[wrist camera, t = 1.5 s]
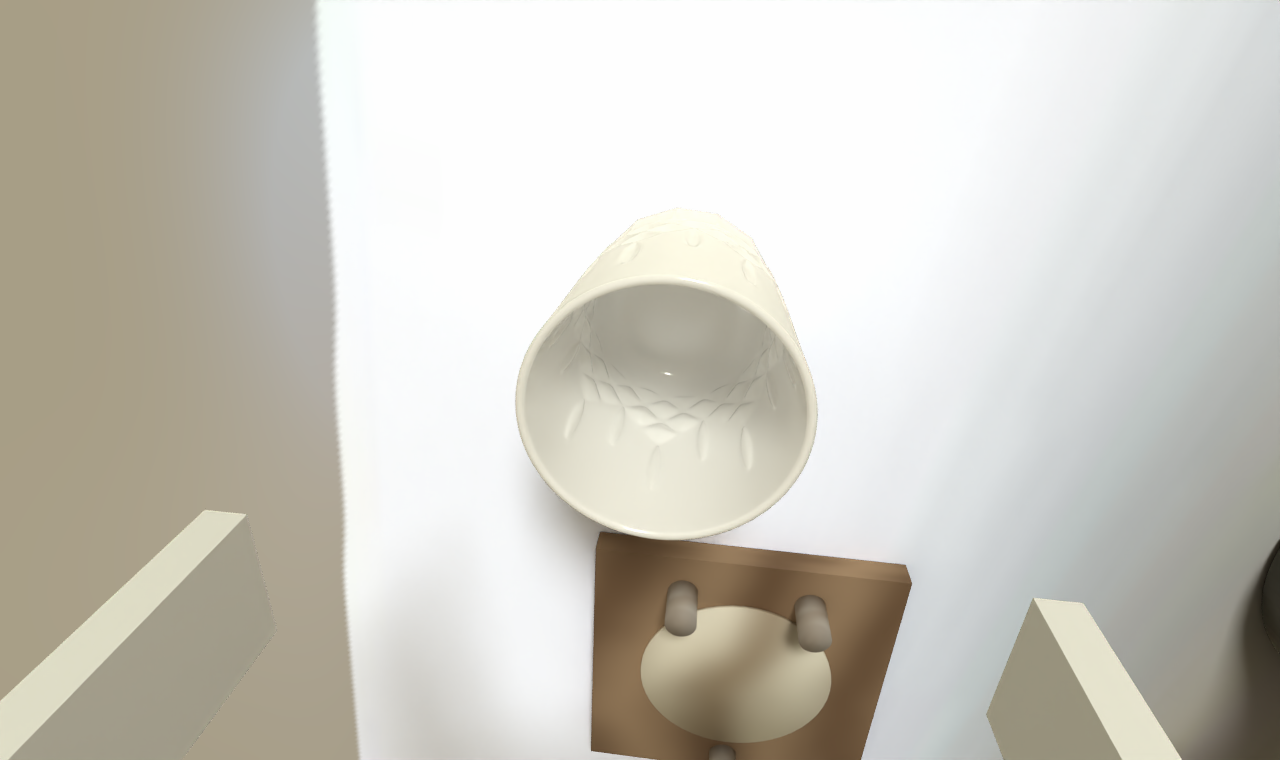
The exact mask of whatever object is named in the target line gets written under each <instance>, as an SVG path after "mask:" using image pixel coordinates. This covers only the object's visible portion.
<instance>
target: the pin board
mask: <svg viewBox="0 0 1280 760" xmlns="http://www.w3.org/2000/svg"><path fill="white" fill-rule="evenodd" d="M911 586H912V582H911V579H910V576H909V573H908V570H907V567H906V565H901V564H892V563H882V562H873V561H864V560H855V559H845V558H836V557H827V556H818V555H809V554H799V553H790V552H781V551H772V550H762V549H753V548H744V547H735V546H726V545H716V544H707V543H698V542H689V541H679V540H657V539H649V538H643V537H638V536H633V535H624V534H615V533H606V532H600V534H599V538H598V542H597V546H596V564H595V605H594V647H593V689H592V731H591V751H595V752H603V753H611V754H618V755H626V756H633V757H641V758H648V759H656V760H861V757H862V754H863V750H864V747H865V743H866V740H867V736H868V733H869V730H870V726H871V723H872V719H873V716H874V712H875V709H876V706H877V702H878V699H879V695H880V692H881V688H882V685H883V682H884V678H885V675H886V671H887V668H888V664H889V661H890V658H891V654H892V651H893V647H894V644H895V640H896V637H897V634H898V630H899V627H900V623H901V620H902V616H903V613H904V610H905V606H906V603H907V599H908V596H909V592H910V589H911Z"/></svg>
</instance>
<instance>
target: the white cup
mask: <svg viewBox="0 0 1280 760" xmlns="http://www.w3.org/2000/svg"><path fill="white" fill-rule="evenodd" d="M515 403H516V417H517V423H518V428H519V432H520V436H521V439H522V442H523V445H524V447H525V450H526V452H527V454H528V456H529V458H530V460H531V462H532V463H533V465H534V467H535V468H536V470H537V471H538V473H539V474H540V476H541V477H542V478H543V480H544V481H545V482H546V483H547V485H548V486H549V487H550V488H551V489H552V490H553V491H554V492H555V493H556V494H557V495H558V496H559V497H560V498H561V499H562V500H564V501H565V502H566V503H567V504H568V505H570V506H571V507H572V508H574V509H575V510H577V511H578V512H580V513H581V514H583V515H584V516H586V517H588V518H589V519H591V520H593V521H595V522H597V523H599V524H601V525H603V526H606V527H608V528H611V529H613V530H616V531H619V532H622V533H625V534H629V535H633V536H638V537H643V538H649V539H657V540H689V539H697V538H703V537H708V536H713V535H717V534H720V533H723V532H726V531H729V530H732V529H735V528H737V527H739V526H741V525H744V524H746V523H748V522H749V521H751V520H753V519H755V518H756V517H758V516H760V515H761V514H763V513H764V512H765V511H767V510H768V509H769V508H771V507H772V506H773V505H774V504H775V503H777V502H778V501H779V500H780V499H781V498H782V497H783V496H784V495H785V494H786V493H787V492H788V490H789V489H790V488H791V487H792V485H793V484H794V483H795V481H796V480H797V479H798V477H799V475H800V474H801V472H802V470H803V469H804V467H805V465H806V463H807V460H808V458H809V456H810V453H811V450H812V447H813V443H814V439H815V435H816V428H817V398H816V392H815V387H814V383H813V379H812V376H811V373H810V370H809V368H808V365H807V362H806V360H805V357H804V354H803V352H802V349H801V346H800V343H799V341H798V338H797V335H796V332H795V329H794V326H793V323H792V321H791V318H790V315H789V312H788V309H787V307H786V304H785V302H784V299H783V297H782V295H781V292H780V290H779V288H778V285H777V284H776V281H775V279H774V277H773V275H772V273H771V271H770V270H769V268H768V267H767V266H766V264H765V262H764V260H763V258H762V256H761V255H760V253H759V251H758V249H757V247H756V245H755V243H754V241H753V239H752V238H751V237H750V236H748V235H747V234H746V233H744V232H743V231H741V230H740V229H739V228H737V227H736V226H734V225H733V224H731V223H730V222H729V221H727V220H726V219H724V218H723V217H721V216H720V215H719V214H714V213H708V212H702V211H696V210H689V209H683V208H674V209H671V210H667V211H664V212H661V213H657V214H654V215H651V216H647V217H644V218H641V219H638V220H637V221H636V222H635V223H634V224H632V225H631V226H630V227H629V228H628V229H627V230H626V231H625V232H624V233H623V234H622V235H621V236H620V237H619V238H618V239H616V240H615V241H614V242H613V243H612V244H611V245H609V246H608V247H607V248H606V249H605V250H604V251H603V252H602V253H601V254H600V256H598V258H597V259H596V260H595V261H594V262H593V263H592V264H591V265H590V267H589V268H588V269H587V270H586V271H585V272H584V274H583V275H582V276H581V277H580V279H579V280H578V281H577V283H576V284H575V285H574V287H573V288H572V289H571V291H570V292H569V293H568V294H567V296H566V297H565V298H564V300H563V301H562V302H561V304H560V305H559V306H558V308H557V309H556V310H555V312H554V313H553V314H552V315H551V317H550V318H549V319H548V320H547V322H546V323H545V324H544V325H543V327H542V328H541V329H540V331H539V332H538V333H537V335H536V336H535V338H534V339H533V341H532V343H531V344H530V346H529V348H528V350H527V352H526V354H525V357H524V359H523V362H522V365H521V368H520V371H519V375H518V380H517V386H516V400H515Z"/></svg>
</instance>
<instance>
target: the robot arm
mask: <svg viewBox="0 0 1280 760" xmlns="http://www.w3.org/2000/svg"><path fill="white" fill-rule="evenodd" d="M1262 615H1263V622H1264V625H1265V629H1266V632H1267V634H1268V637H1269V639H1270V641H1271V642H1272V644H1273V646H1274V647H1275V649H1276V650H1277V652H1278V653H1279V654H1280V549H1279V551H1278V552H1277V554H1276V556H1275V558H1274V560H1273V562H1272V564H1271V566H1270V569H1269V571H1268V574H1267V577H1266V580H1265V584H1264V589H1263V595H1262ZM276 632H277V628H276V624H275V620H274V616H273V612H272V609H271V605H270V601H269V597H268V593H267V589H266V586H265V582H264V578H263V574H262V570H261V566H260V562H259V559H258V555H257V551H256V547H255V543H254V539H253V535H252V532H251V528H250V524H249V520H248V516H247V514H238V513H229V512H220V511H210V510H204V511H203V512H202V513H201V514H200V515H199V516H198V517H197V518H196V519H195V520H194V521H192V522H191V523H190V524H189V525H188V526H187V527H186V528H185V529H184V530H183V531H182V532H181V533H180V534H179V535H178V536H176V538H174V539H173V540H172V541H171V542H170V543H169V544H168V545H167V546H166V547H165V548H164V549H163V550H161V552H159V553H158V554H157V555H156V556H155V557H154V558H153V559H152V560H151V561H150V562H149V563H148V564H147V565H146V566H144V567H143V568H142V569H141V570H140V571H139V572H138V573H137V574H136V575H135V576H134V577H133V578H132V579H130V580H129V581H128V582H127V583H126V584H125V585H124V586H123V587H122V588H121V589H120V590H119V591H118V592H116V593H115V595H113V596H112V597H111V598H110V599H109V600H108V601H107V602H106V603H105V604H104V605H103V606H101V607H100V608H99V609H98V610H97V611H96V612H95V613H94V614H93V615H92V616H91V617H90V618H89V619H88V620H86V621H85V622H84V624H82V625H81V626H80V627H79V628H78V629H77V630H76V631H75V632H74V633H73V634H72V635H70V636H69V637H68V639H66V640H65V641H64V642H63V643H62V644H61V645H60V646H59V647H58V648H57V649H56V650H54V651H53V652H52V653H51V654H50V655H49V656H48V657H47V658H46V659H45V660H44V661H43V662H42V663H41V664H39V665H38V666H37V667H36V668H35V669H34V670H33V671H32V672H31V673H30V674H29V675H28V676H27V677H25V678H24V679H23V680H22V681H21V682H20V683H19V684H18V685H17V686H16V687H15V688H14V689H13V690H12V691H10V692H9V693H8V694H7V695H6V696H5V697H4V698H3V699H2V700H1V701H0V760H182V759H183V758H184V757H185V755H186V754H187V753H188V751H189V750H190V748H191V747H192V746H193V744H194V743H195V742H196V740H197V739H198V738H199V736H200V735H201V734H202V732H203V731H204V729H205V728H206V727H207V725H208V724H209V723H210V721H211V720H212V719H213V717H214V716H215V715H216V713H217V712H218V710H219V709H220V708H221V706H222V705H223V704H224V702H225V701H226V700H227V698H228V697H229V695H230V694H231V693H232V691H233V690H234V689H235V687H236V686H237V685H238V683H239V682H240V681H241V679H242V678H243V676H244V675H245V674H246V672H247V671H248V670H249V668H250V667H251V666H252V664H253V663H254V662H255V660H256V659H257V657H258V656H259V655H260V653H261V652H262V650H263V649H264V648H265V647H266V645H267V644H268V643H269V641H270V639H271V638H272V637H273V636H274V634H275V633H276ZM986 715H987V718H988V720H989V723H990V725H991V728H992V731H993V733H994V736H995V738H996V741H997V743H998V746H999V749H1000V751H1001V754H1002V756H1003V759H1004V760H1182V759H1181V758H1180V756H1179V754H1178V753H1177V751H1176V750H1175V748H1174V746H1173V745H1172V743H1171V742H1170V740H1169V739H1168V737H1167V735H1166V734H1165V732H1164V731H1163V729H1162V727H1161V726H1160V724H1159V723H1158V721H1157V719H1156V718H1155V716H1154V715H1153V713H1152V712H1151V710H1150V708H1149V707H1148V705H1147V704H1146V702H1145V700H1144V699H1143V697H1142V696H1141V694H1140V693H1139V691H1138V689H1137V688H1136V686H1135V685H1134V683H1133V681H1132V680H1131V678H1130V677H1129V675H1128V674H1127V672H1126V670H1125V669H1124V667H1123V666H1122V664H1121V662H1120V661H1119V659H1118V658H1117V656H1116V655H1115V653H1114V651H1113V650H1112V648H1111V647H1110V645H1109V643H1108V642H1107V640H1106V639H1105V637H1104V635H1103V634H1102V632H1101V631H1100V629H1099V628H1098V626H1097V624H1096V623H1095V621H1094V620H1093V618H1092V616H1091V615H1090V613H1089V612H1088V610H1087V609H1086V607H1085V605H1084V604H1083V603H1077V602H1068V601H1058V600H1049V599H1039V598H1033V600H1032V602H1031V604H1030V607H1029V609H1028V612H1027V614H1026V617H1025V619H1024V622H1023V624H1022V627H1021V629H1020V632H1019V634H1018V637H1017V639H1016V642H1015V644H1014V647H1013V649H1012V652H1011V654H1010V657H1009V659H1008V662H1007V664H1006V666H1005V669H1004V671H1003V674H1002V676H1001V679H1000V681H999V684H998V686H997V689H996V691H995V694H994V696H993V699H992V701H991V704H990V706H989V709H988V711H987V714H986Z"/></svg>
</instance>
